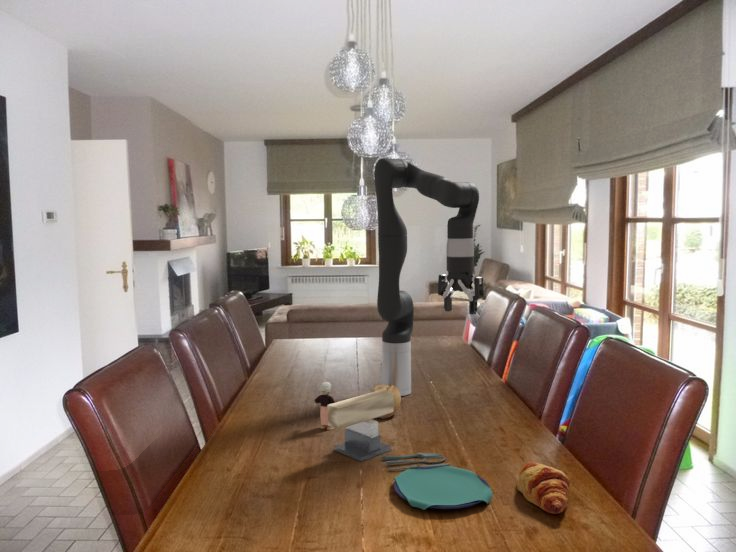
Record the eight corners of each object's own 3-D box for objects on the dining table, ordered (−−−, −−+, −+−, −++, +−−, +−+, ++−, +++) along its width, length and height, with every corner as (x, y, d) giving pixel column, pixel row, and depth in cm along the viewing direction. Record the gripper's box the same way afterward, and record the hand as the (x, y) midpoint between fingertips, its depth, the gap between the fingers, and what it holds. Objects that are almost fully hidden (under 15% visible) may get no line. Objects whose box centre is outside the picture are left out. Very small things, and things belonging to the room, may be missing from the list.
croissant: (516, 489, 133) (499, 458, 132) (556, 467, 133) (540, 436, 132) (545, 537, 112) (525, 501, 111) (593, 512, 111) (573, 475, 111)
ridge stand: (333, 450, 148) (333, 418, 147) (363, 439, 155) (363, 409, 154) (361, 461, 141) (360, 428, 140) (391, 449, 147) (390, 418, 147)
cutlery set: (408, 522, 113) (408, 510, 112) (373, 462, 142) (373, 452, 142) (506, 511, 117) (506, 499, 116) (453, 455, 146) (453, 445, 146)
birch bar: (327, 425, 142) (327, 404, 142) (382, 408, 154) (382, 389, 154) (338, 429, 139) (338, 408, 139) (393, 411, 151) (393, 392, 151)
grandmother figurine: (341, 426, 165) (341, 381, 163) (336, 431, 161) (335, 385, 160) (316, 423, 167) (315, 379, 166) (310, 428, 164) (309, 382, 162)
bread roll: (399, 403, 184) (399, 378, 184) (402, 420, 169) (402, 392, 169) (368, 404, 184) (367, 379, 183) (368, 420, 169) (368, 393, 169)
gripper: (489, 254, 164) (489, 313, 165) (448, 253, 174) (448, 308, 175) (472, 256, 158) (472, 317, 160) (431, 254, 169) (432, 311, 170)
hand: (460, 312), depth 168 cm, fingers open, 8 cm apart
